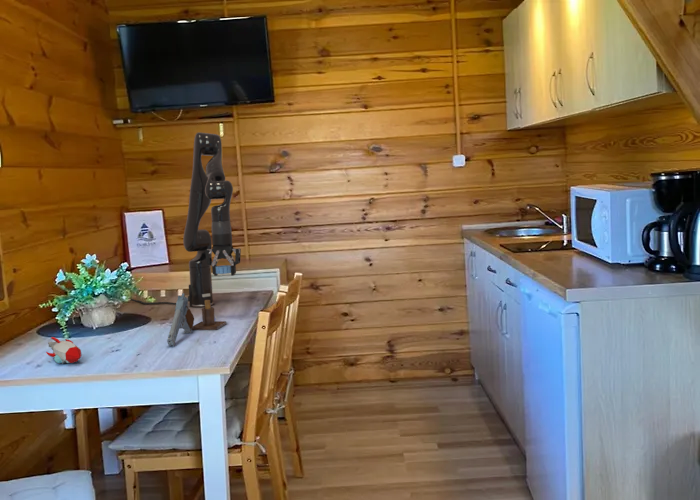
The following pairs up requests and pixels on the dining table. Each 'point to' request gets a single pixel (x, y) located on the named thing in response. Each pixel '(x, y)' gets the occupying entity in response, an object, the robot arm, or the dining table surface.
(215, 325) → the stand
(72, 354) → the toy
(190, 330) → the handgun
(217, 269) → the ring
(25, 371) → the dining table surface
